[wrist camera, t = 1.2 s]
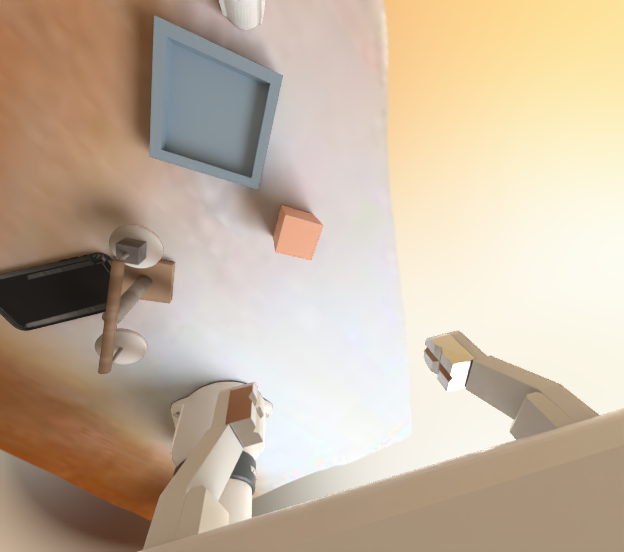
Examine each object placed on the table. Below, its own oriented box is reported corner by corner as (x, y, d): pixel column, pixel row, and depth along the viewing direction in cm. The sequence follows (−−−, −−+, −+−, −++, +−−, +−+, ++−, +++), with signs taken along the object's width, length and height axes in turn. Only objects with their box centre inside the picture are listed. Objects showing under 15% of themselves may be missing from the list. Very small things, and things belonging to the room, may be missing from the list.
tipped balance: (169, 328, 35) (135, 392, 26) (123, 323, 34) (68, 390, 24) (178, 224, 29) (137, 258, 19) (121, 211, 27) (46, 241, 18)
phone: (136, 304, 32) (20, 332, 31) (140, 299, 33) (27, 327, 32) (101, 252, 28) (-34, 282, 27) (107, 249, 29) (-24, 278, 28)
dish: (258, 187, 29) (258, 190, 27) (158, 156, 26) (149, 156, 23) (280, 82, 25) (282, 75, 23) (164, 29, 21) (154, 14, 19)
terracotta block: (303, 244, 34) (311, 260, 28) (273, 236, 32) (275, 252, 27) (313, 214, 32) (323, 225, 27) (281, 204, 31) (285, 214, 25)
